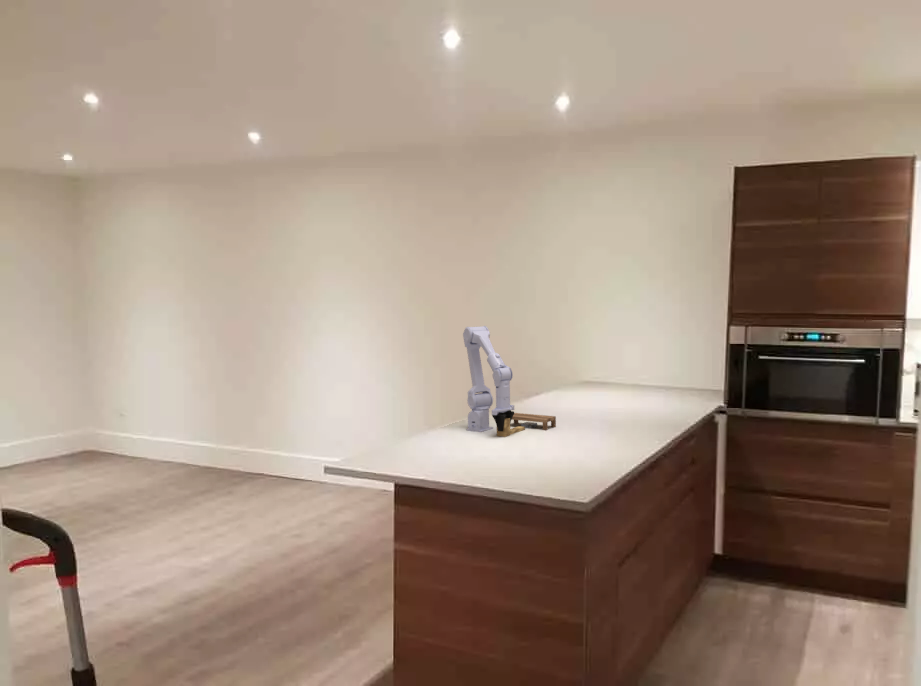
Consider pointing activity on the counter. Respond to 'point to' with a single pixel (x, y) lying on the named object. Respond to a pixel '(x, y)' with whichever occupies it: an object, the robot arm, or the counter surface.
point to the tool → (507, 430)
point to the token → (529, 424)
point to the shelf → (535, 419)
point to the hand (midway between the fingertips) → (503, 430)
